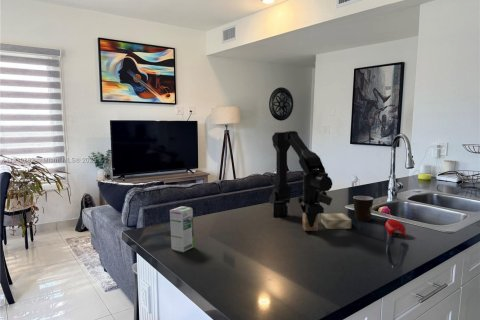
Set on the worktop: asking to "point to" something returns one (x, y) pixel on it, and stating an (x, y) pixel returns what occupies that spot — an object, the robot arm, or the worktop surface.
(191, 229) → the syrup box
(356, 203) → the coffee mug
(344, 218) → the birch block
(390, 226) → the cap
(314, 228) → the walnut block
